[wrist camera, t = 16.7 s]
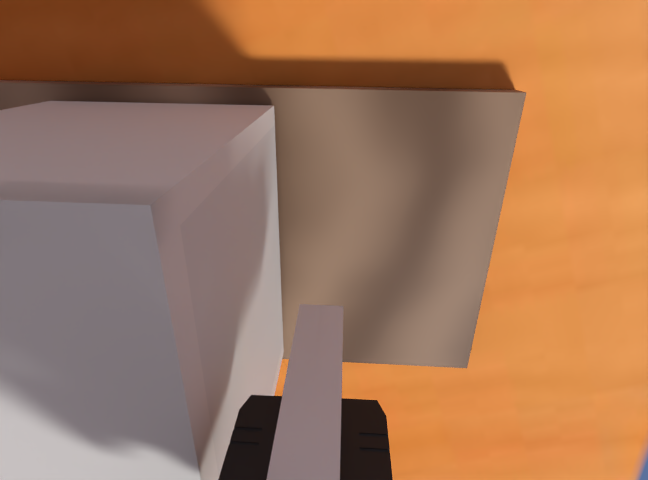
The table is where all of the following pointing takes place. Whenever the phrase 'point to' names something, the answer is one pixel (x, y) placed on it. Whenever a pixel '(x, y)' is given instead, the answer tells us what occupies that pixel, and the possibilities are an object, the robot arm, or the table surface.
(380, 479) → the robot arm
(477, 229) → the board
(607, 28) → the table surface
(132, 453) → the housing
